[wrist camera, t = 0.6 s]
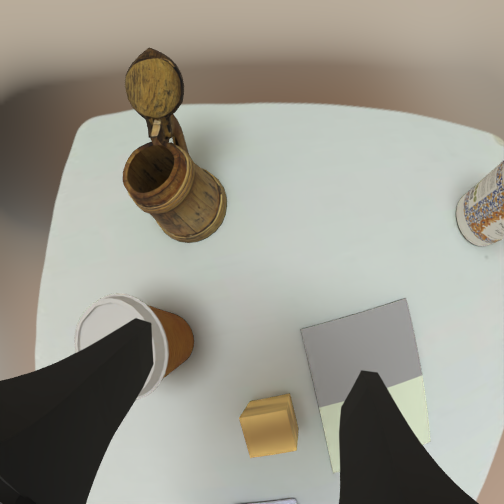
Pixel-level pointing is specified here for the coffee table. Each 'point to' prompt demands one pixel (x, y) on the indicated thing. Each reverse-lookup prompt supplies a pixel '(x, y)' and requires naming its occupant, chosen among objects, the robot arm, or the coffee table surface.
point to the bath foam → (483, 210)
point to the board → (366, 366)
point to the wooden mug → (168, 156)
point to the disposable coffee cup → (128, 308)
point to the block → (270, 426)
